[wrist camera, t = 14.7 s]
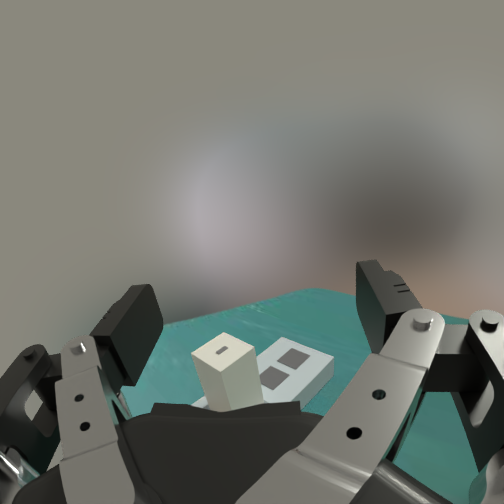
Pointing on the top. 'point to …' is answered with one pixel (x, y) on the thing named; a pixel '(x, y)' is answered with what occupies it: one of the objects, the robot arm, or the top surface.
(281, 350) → the power strip
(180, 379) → the top surface
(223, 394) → the block
